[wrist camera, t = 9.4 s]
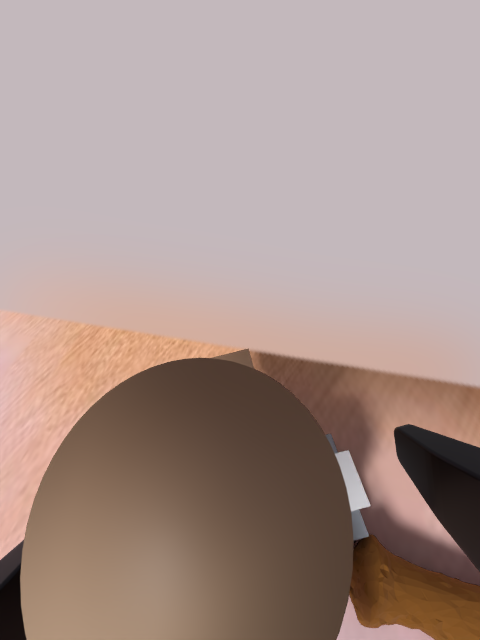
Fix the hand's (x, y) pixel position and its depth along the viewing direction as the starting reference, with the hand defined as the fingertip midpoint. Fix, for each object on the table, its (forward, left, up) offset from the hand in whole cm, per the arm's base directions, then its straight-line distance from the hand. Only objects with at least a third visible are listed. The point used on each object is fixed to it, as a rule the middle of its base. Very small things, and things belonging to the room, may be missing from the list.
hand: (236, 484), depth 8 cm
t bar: (0, 0, -7) cm, 7 cm away
